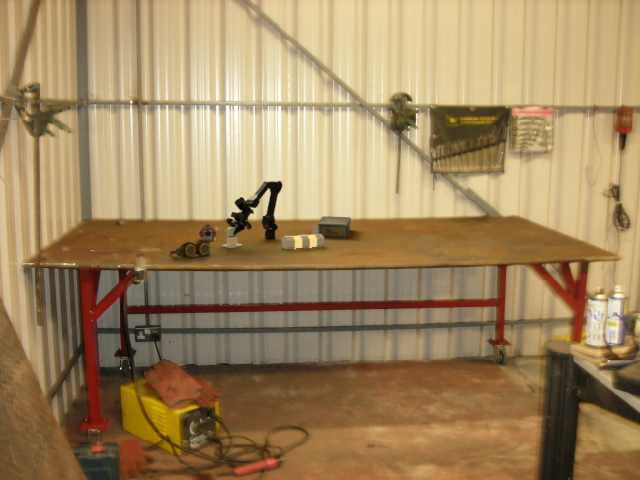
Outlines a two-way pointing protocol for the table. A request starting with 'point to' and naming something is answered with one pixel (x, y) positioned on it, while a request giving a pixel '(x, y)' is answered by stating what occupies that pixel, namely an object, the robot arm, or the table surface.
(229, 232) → the pale green block
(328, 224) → the metal box
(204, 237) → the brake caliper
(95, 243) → the table surface
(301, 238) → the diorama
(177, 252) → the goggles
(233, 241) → the cream stepped block
